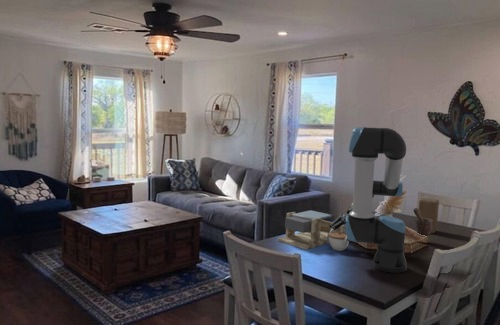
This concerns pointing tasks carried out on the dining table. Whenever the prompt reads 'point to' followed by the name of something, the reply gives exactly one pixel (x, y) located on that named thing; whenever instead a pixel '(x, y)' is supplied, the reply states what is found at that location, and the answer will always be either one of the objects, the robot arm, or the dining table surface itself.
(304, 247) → the stand
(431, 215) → the block
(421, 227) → the mortar and pestle
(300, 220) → the grey flat box
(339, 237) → the lidded jar
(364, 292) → the dining table surface
